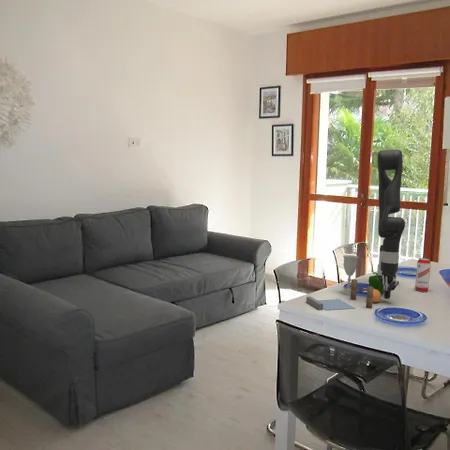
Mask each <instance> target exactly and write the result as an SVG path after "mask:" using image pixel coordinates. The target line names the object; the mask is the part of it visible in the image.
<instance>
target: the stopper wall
mask: <svg viewBox="0 0 450 450" xmlns="http://www.w3.org/2000/svg"><path fill="white" fill-rule="evenodd" d="M305 303H307V304H308V305H310V306H311V307H313V308H315V309H317V310H318V311H323V310H324V309H323V304H322V303H321V302H319V301H317V299H315V298H314V297H312V296H306V299H305Z"/></svg>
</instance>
